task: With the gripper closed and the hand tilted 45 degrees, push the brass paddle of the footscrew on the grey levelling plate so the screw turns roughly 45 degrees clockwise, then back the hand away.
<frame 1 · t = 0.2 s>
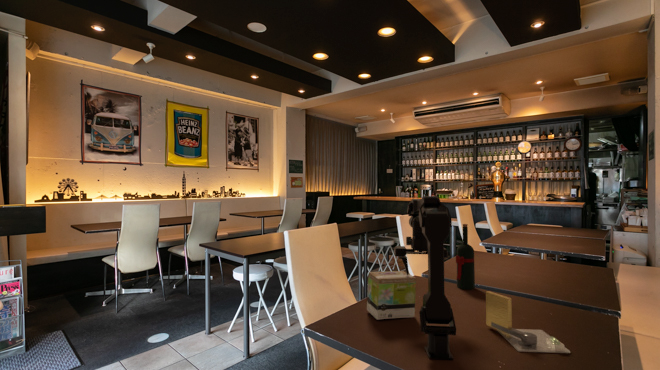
hand: (420, 275, 119), 15 cm above the table, tool pointing down, fingers open, 9 cm apart
tea box: (390, 314, 119), on the table, touching gripper
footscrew: (509, 316, 101), point 7 cm above the table, hinge at 0.0°
wine bottle: (464, 288, 152), on the table
levelling plate: (530, 340, 98), on the table
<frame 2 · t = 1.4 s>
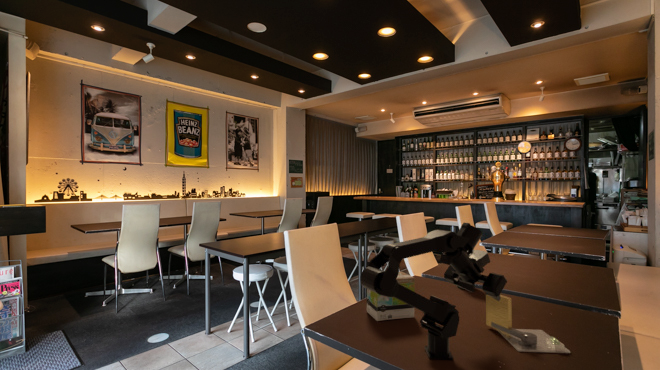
hand: (486, 295, 100), 13 cm above the table, tool tilted 45°, fingers open, 9 cm apart
tea box: (390, 315, 119), on the table
everything else where it was.
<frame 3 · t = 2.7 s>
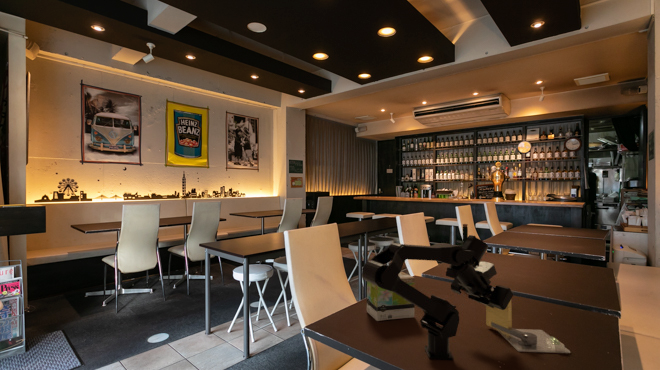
hand: (493, 306, 101), 10 cm above the table, tool tilted 45°, fingers closed
nothing on the table moved.
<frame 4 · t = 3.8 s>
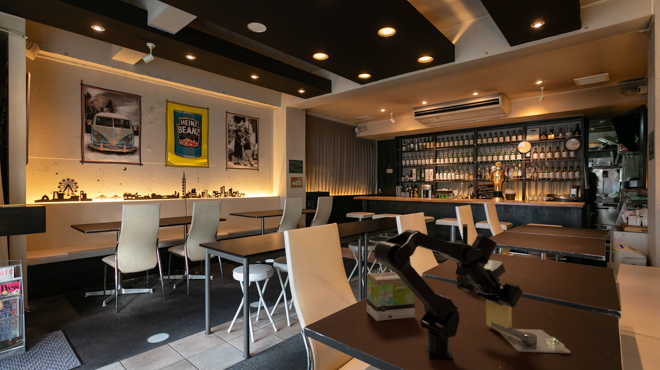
hand: (501, 304, 102), 10 cm above the table, tool tilted 45°, fingers closed, pressing on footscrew
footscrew: (509, 316, 101), point 7 cm above the table, hinge at 0.0°, touching gripper
everything else where it was.
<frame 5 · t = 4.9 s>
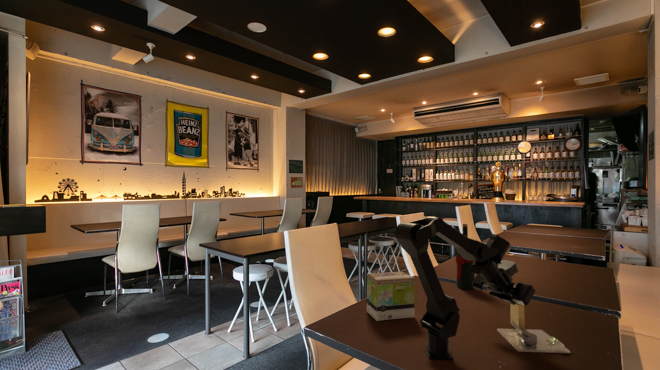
hand: (513, 303, 104), 9 cm above the table, tool tilted 45°, fingers closed
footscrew: (521, 315, 101), point 7 cm above the table, hinge at -38.1°, touching gripper
everything else where it was.
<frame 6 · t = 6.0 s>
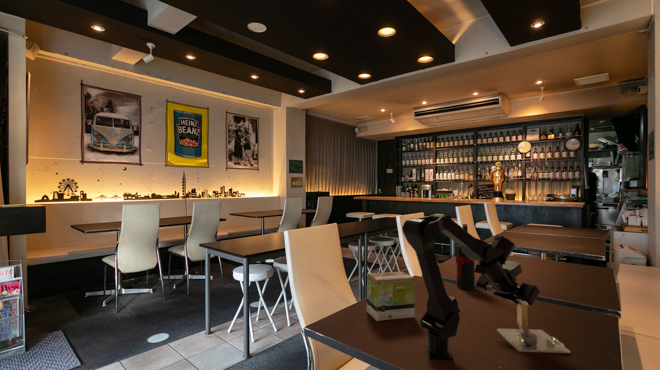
hand: (517, 303, 105), 9 cm above the table, tool tilted 45°, fingers closed
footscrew: (524, 315, 101), point 7 cm above the table, hinge at -46.5°, touching gripper
everything else where it was.
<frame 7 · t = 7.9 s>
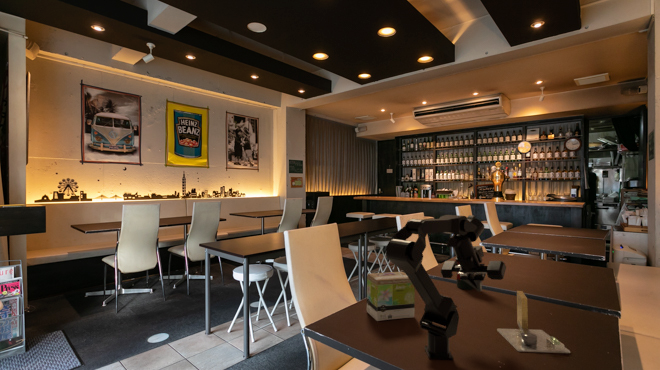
hand: (480, 290, 104), 14 cm above the table, tool tilted 30°, fingers closed
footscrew: (524, 315, 101), point 7 cm above the table, hinge at -46.5°
everything else where it was.
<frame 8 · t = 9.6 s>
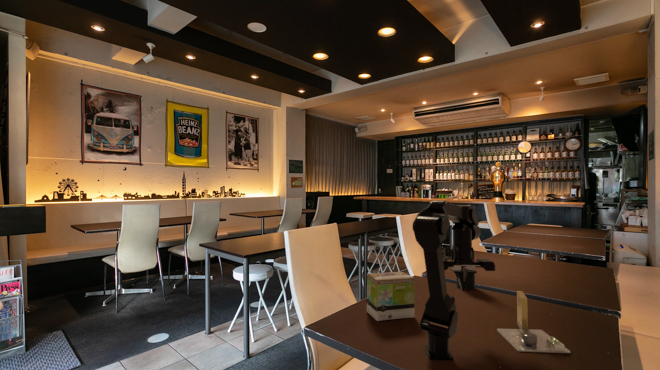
hand: (463, 290, 106), 13 cm above the table, tool pointing down, fingers closed
nothing on the table moved.
at the end: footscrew at -46° (first picture: +0°) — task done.
